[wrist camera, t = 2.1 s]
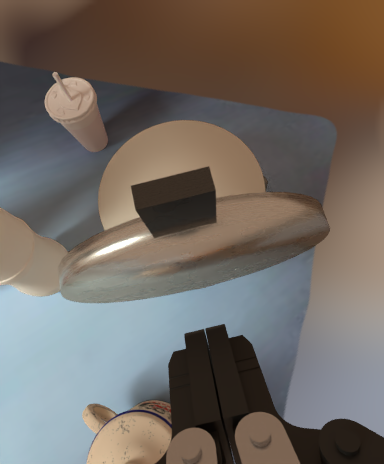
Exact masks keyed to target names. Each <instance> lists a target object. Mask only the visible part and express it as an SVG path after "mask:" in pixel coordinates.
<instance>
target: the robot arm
mask: <svg viewBox="0 0 384 464" xmlns="http://www.w3.org/2000/svg"><path fill="white" fill-rule="evenodd" d="M206 334H207V338H206V335H205V331H204V329H202V330H198V331H194V332H190V333H186V334H185V344H186V349H183V350H179V351H175V352H173V354H172V357H171V359H170V362H169V364H168V368H169V387H170V406H171V425H172V437H171V442H170V444H169V446H168V449H167V451H166V453H165V454H164V455H163V456H162V458H161V459H160V460H159V461H158V462H156V463H155V464H234V462H233V457H232V452H233V455H234V459H235V463H236V464H384V438H383V437H382V436H380V435H378V434H376V433H375V432H373V431H371V430H369V429H368V428H366V427H364V426H362V425H361V424H359V423H357V422H355V421H351V420H348V419H335V420H332V421H330V422H328V423H327V424H325V425H324V426H323V428H322V429H321V430H318V429H307V428H300V427H296V426H293V425H291V424H289V423H287V422H286V421H285V420H283V419H282V418H281V417H280V416H279V414H278V413H277V411H276V410H275V407H274V405H273V402H272V399H271V396H270V394H269V391H268V388H267V385H266V382H265V380H264V377H263V374H262V371H261V369H260V366H259V363H258V360H257V357H256V354H255V352H254V349H253V346H252V344H251V343H250V342H249V341H248V340H247V339H246V338H245V337H244V336H243V335H240V336H236V337H232V338H228V334H227V331H226V327H225V324H222V325H218V326H214V327H210V328H206ZM207 339H208V342H207ZM208 344H209V346H208ZM209 349H210V350H209ZM228 437H229V438H228ZM229 441H230V442H229ZM230 444H231V447H230ZM231 448H232V452H231Z"/></svg>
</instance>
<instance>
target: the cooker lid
mask: <svg viewBox="0 0 384 464" xmlns="http://www.w3.org/2000/svg"><path fill="white" fill-rule="evenodd" d="M131 190H132V195H133V200H134V205H135V210H136V212H137V213H138V215H139V216H140V217H138V218H135V219H132V220H130V221H127V222H125V223H122V224H120V225H117V226H114V227H112V228H110V229H108V230H105V231H103V232H101V233H99V234H97V235H95V236H93V237H91V238H89V239H88V240H86V241H84V242H82V243H81V244H79V245H78V246H76V247H75V248H73V249H72V250H71V251H69V252H68V253H67V254H66V255H65V256H64V257H63V258H62V260H61V261H60V263H59V265H58V275H59V284H60V292H61V295H62V297H64V298H65V299H67V300H70V301H74V302H80V303H113V302H124V301H133V300H141V299H147V298H154V297H159V296H165V295H170V294H175V293H180V292H185V291H189V290H194V289H198V288H202V287H206V286H210V285H214V284H218V283H221V282H225V281H228V280H232V279H235V278H239V277H242V276H245V275H248V274H251V273H254V272H257V271H260V270H263V269H266V268H268V267H271V266H274V265H276V264H279V263H281V262H284V261H286V260H288V259H291V258H293V257H295V256H297V255H299V254H301V253H303V252H305V251H307V250H309V249H310V248H312V247H314V246H315V245H317V244H318V243H320V242H321V241H322V240H323V239H324V238H325V237H326V236H327V235H328V233H329V231H330V228H329V224H328V222H327V219H326V217H325V214H324V211H323V208H322V206H321V204H320V203H319V202H318V200H316V199H314V198H312V197H310V196H306V195H302V194H296V193H288V192H262V193H247V194H239V195H230V196H224V197H218V198H216V189H215V186H214V182H213V178H212V175H211V171H210V168H209V166H208V167H204V168H200V169H196V170H192V171H188V172H184V173H180V174H176V175H172V176H168V177H164V178H160V179H156V180H152V181H148V182H144V183H140V184H136V185H132V186H131Z"/></svg>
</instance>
